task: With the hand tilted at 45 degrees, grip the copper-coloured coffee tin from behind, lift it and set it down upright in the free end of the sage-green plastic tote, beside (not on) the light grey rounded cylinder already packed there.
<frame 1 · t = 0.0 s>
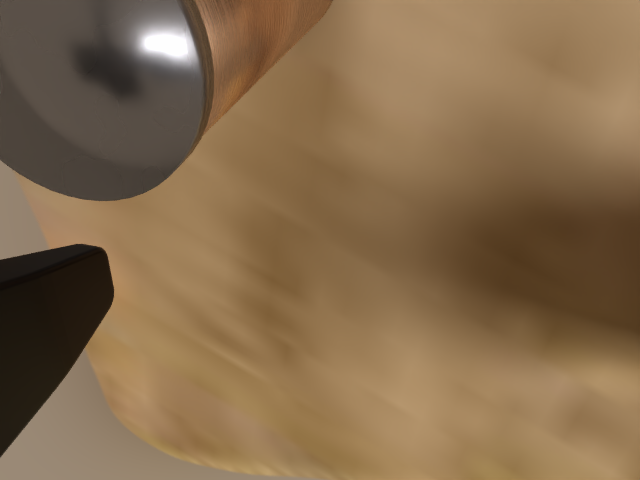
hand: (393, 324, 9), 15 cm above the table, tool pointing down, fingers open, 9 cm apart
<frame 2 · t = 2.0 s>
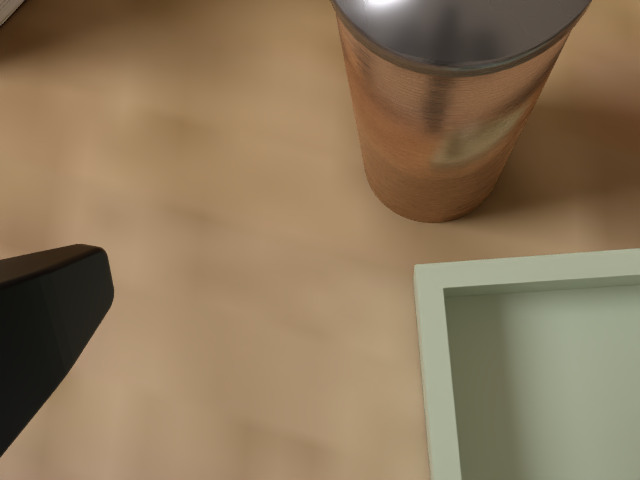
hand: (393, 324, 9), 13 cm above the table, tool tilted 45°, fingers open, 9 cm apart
coffee tin: (431, 157, 23), on the table
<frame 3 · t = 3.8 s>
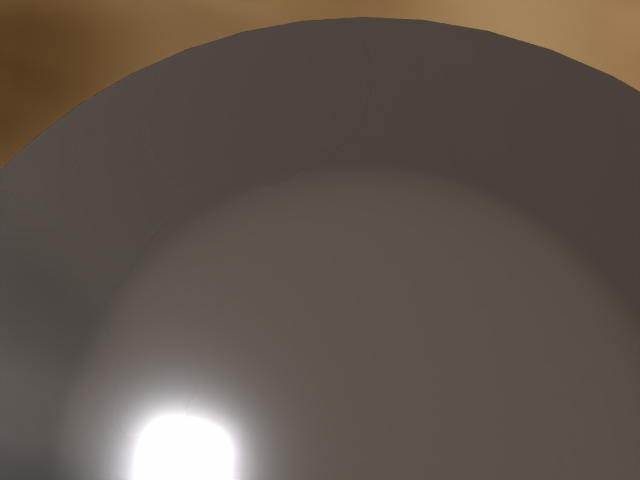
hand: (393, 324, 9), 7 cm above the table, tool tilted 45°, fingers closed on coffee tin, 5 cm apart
coffee tin: (388, 401, 15), on the table, touching gripper
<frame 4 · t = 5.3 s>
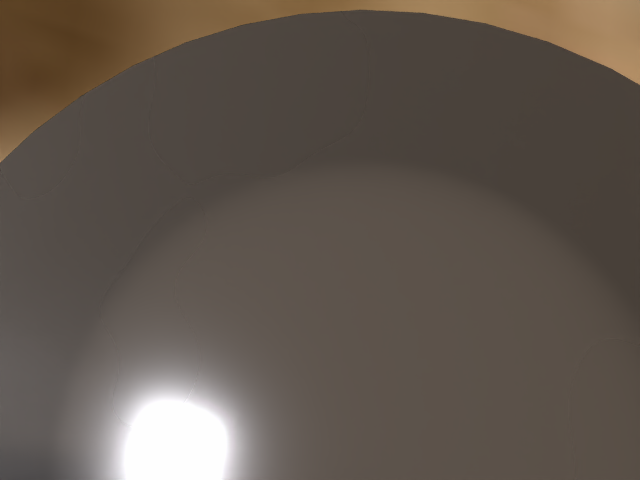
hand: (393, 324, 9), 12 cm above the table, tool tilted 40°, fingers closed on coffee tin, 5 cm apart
coffee tin: (387, 399, 15), point 6 cm above the table, touching gripper
when the fingers open (8 cm above the table, at t = 7.0 s): coffee tin drops 1 cm, resting on tote.
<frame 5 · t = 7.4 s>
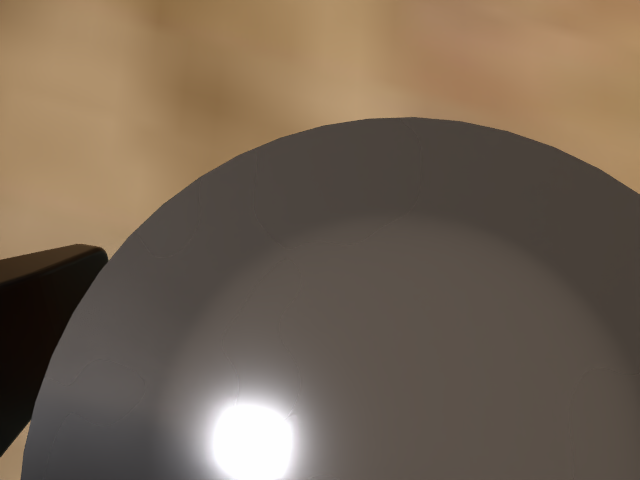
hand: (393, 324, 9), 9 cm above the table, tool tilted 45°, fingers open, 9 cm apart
coffee tin: (387, 401, 16), point 1 cm above the table, touching tote
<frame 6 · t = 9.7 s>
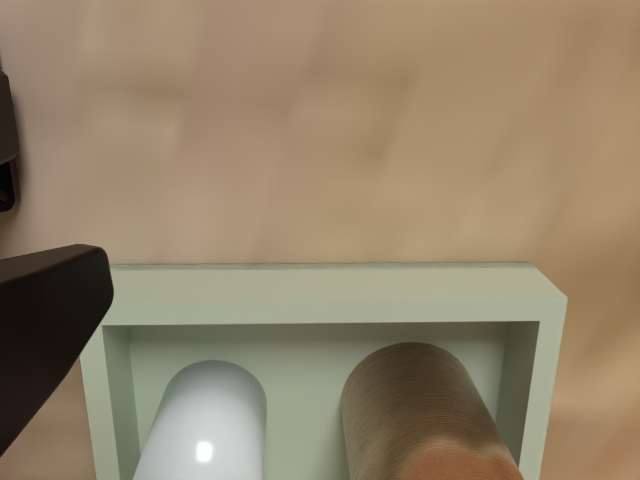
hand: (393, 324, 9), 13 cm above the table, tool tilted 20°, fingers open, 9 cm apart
tote: (318, 395, 24), on the table
light grey rounded cylinder: (215, 405, 23), point 1 cm above the table, touching tote
coffee tin: (407, 401, 23), point 1 cm above the table, touching tote
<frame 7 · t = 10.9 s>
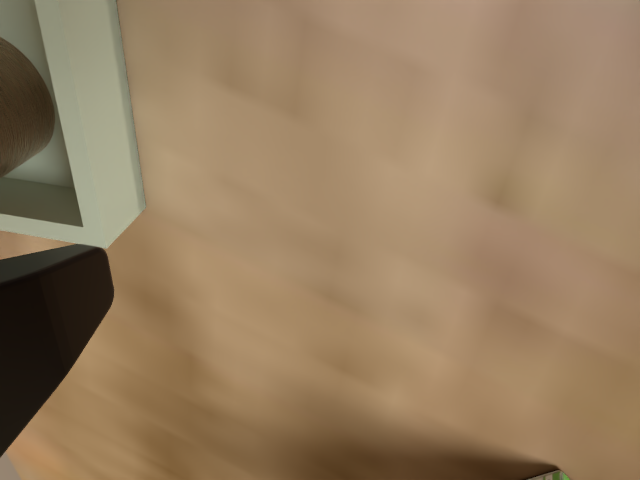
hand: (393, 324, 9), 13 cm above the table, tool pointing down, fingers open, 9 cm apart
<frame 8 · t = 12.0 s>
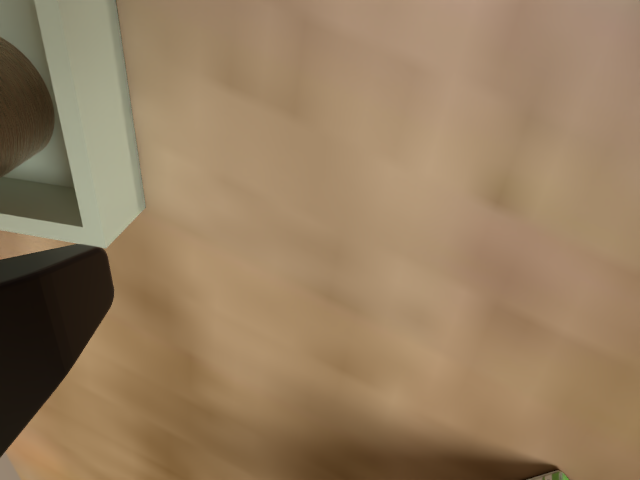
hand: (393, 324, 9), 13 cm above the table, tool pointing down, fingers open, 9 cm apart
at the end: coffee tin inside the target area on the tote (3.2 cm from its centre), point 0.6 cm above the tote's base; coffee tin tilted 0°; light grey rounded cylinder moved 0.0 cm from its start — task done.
